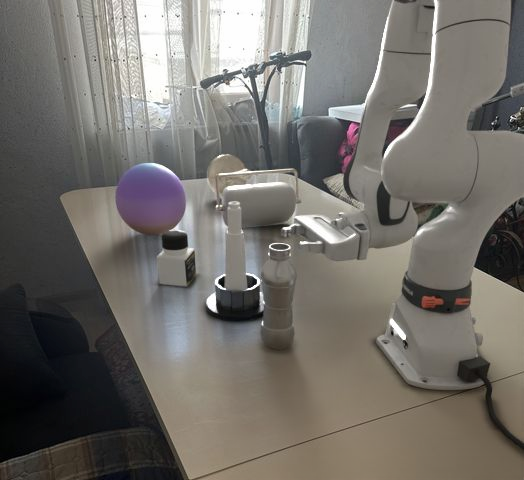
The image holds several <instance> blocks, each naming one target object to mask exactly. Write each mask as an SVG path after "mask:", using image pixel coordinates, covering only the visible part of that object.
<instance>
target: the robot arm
mask: <svg viewBox="0 0 524 480" xmlns="http://www.w3.org/2000/svg"><path fill="white" fill-rule="evenodd" d="M511 14H512V0H391V3H390V8H389V11H388V15H387V18H386V22H385V26H384V31H383V36H382V41H381V47H380V53H379V59H378V64H377V67H376V68H377V69H376V72H375V75H374V79H373V81H372V84H371V86H369V87H370V88H369V89H368V92H367V95H366V98H365V102H364V107H363V110H362V114H361V118H360V123H359V127H358V132H357V136H356V140H355V145H354V148H353V152H352V154H351V157H350V159H349V161H348V163H347V166H346V168H345V170H344V174H343V178H342V186H343V189H344V192H345V194H346V195H347V196H348V197H349V198H350V199H352V200H355V201H357V202H360V203H362V204H363V208H362V209H361V210H355V211H347V212H346V211H345V212H339V213H337V214H336V216H335V218H334V219H332V218H330V217H329V216H327V215H325V214H320V213H319V214H317V213H315V214H314V213H313V214H299V215H296V216H295V217H294V218H293V223H292V224H291V225H288V226H285V227H282V228H281V236H283V237H284V238H291V237H292V236H293V235H296V236H297V235H299V236H300V238H302V239H303V240H304V241H300V242H298V248H297V249H298V250H299V252H301V253H314V254H322V255H323V256H324V257H325V258H326V259H328V260H329V261H332V262H333V261H334V262H346V261H355V260H358V261H364V260H367V258H368V253H369V250H370V249H376V250H379V249H386V248H391V247H395V246H400V245H402V244H405V243H407V242H408V241H410V240H411V239H412V244H411V248H410V254H409V261H408V265H407V270H405V273H404V276H403V279H402V282H401V295H400V296H399V297H398V298H397V299H396V300H395V301H394V302H393V303H392V304H391V306H390V311H389V315H388V319H387V324H386V328H385V332H384V333H383V334H381V335H379V336H378V337H377V338H376V341H375V342H376V345H377V346H378V348H379V349H380V350H381V351H382V353H383V354H384V355H385V357H386V358H387V359H388V360H389V362H390V363H391V365H392V366H393V368H394V369H395V370H396V371H397V373H398V374H399V375H400V376H401V378H402V379H403V380H404V381H405V382H406V383H407V384H408V385H410V386H413V387H417V388H421V389H427V390H437V391H462V390H471V389H476V388H479V387H481V386H483V385H484V386H485V396H484V397H485V404H486V408H487V412H488V416H489V418H490V420H491V422H492V423H493V424H494V426H495V427H496V428H497V429H498V430H499V431H500V432H501V433H502V434H503V436H504V437H505V438H506V439H507V440H509V441H510V442H511V443H512V444H514V445H515V446H516V447H518V448H519V449H521V450H523V451H524V442H523V441H521V440H520V439H519V438H518V437H516V436H515V435H514V434H513V433H512V432H510V430H508V428H507V427H506V426H505V424H503V423H502V422H501V421H500V420H499V418H498V416H497V415H496V412H495V410H494V406H493V405H494V404H493V399H492V395H493V385H492V383H491V381H490V379H489V378H488V377H487V376H488V373H489V370H490V367H491V362H490V361H488V360H487V359H486V358H484V357H482V356H481V355H479V354H478V347H480V346H482V344H483V341H484V340H483V339H484V335H483V333H481V332H475V327H474V326H476V322H477V321H476V320H477V319H476V317H473V316H472V313H471V303H472V302H471V301H472V295H473V288H472V286H473V281H472V275H473V272H474V268H475V265H476V261H477V257H478V255H479V251H480V248H481V246H482V244H483V241H484V239H485V237H486V235H487V233H488V232H489V231H490V229H491V228H492V226H493V225H494V224H495V222H496V221H497V220H498V219H499V217H501V215H502V214H503V213H504V212H505V211H506V210H507V209H508V208H509V207H510V206H512V205H513V204H514V203H516V202H517V201H519V200H520V199H521V198H524V133H520V132H515V131H511V130H506V129H505V130H468V129H467V127H468V120H469V116H470V114H471V112H472V110H473V109H475V108H477V107H479V106H481V105H483V104H484V103H486V102H487V101H489V100H491V99H492V98H493V97H494V96H496V95H497V93H499V91H500V90H501V88H502V86H503V85H504V83H505V81H506V77H507V68H508V67H507V65H508V54H509V53H508V52H509V44H510V43H509V42H510V31H511V19H512V18H511V16H512V15H511ZM424 95H425V97H424V99H423V102H422V104H421V106H420V109H419V111H418V113H417V115H416V116H415V117H414V119H413V120H412V122H411V123H410V124H409V126H407V128H406V129H405V130H403V132H402V133H400V134H399V135H398V136H397V137H396V138H394V139H393V140H392V141H391V143H390V144H389V145H388V146H387V148H386V150H385V152H384V154H383V150H384V147H385V142H386V139H387V134H388V131H389V127H390V123H391V120H392V118H393V116H394V115H395V113H396V112H397V111H398V110H399V109H401V108H403V107H405V106H407V105H410V104H412V103H414V102H416V101H418V100H419V99H421V98H422V97H423V96H424ZM413 203H415V204H445V203H446V204H447V203H448V204H447V206H446V207H445V209H444V210H443V211H442V212H441V213H439V215H437V216H436V217H434V218H433V219H430V220H429V221H427V222H425V223H424V224H422V225H421V226H420V227H419V218H418V214H417V212H416V210H415V209H414V207H413ZM418 227H419V228H418Z"/></svg>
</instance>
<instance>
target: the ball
mask: <svg viewBox="0 0 524 480" xmlns="http://www.w3.org/2000/svg"><path fill="white" fill-rule="evenodd" d="M114 199H115V206H116V210H117V212H118V214H119V216H120V218H121V220H123V222H124V223H125V224H126V225H127V226H128V227H129V228H130V229H132V230H133V231H135V232H136V233H139V234H141V235H145V236H153V237H154V236H161V235H162V234H163V233H164V232H166V231H169V230H174V229H175V228H176V227H177V226H178V225H179V223H180V222H181V221H182V220H183V218H184V215H185V213H186V208H187V197H186V192H185V188H184V185H183V183H182V181H181V180H180V178H179V177H178V176H177V174H175V173H174V172H173V171H172V170H170V169H169V168H167V167H165V166H164V165H162V164H159V163H154V162H153V163H152V162H144V163H139V164H137V165H134V166H132V167H130V168H129V169H128V170H126V171H125V172H124V173H123V174H122V176H121V177H120V178H119V180H118V183H117V186H116V190H115V197H114Z"/></svg>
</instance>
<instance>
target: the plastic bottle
mask: <svg viewBox="0 0 524 480" xmlns="http://www.w3.org/2000/svg"><path fill="white" fill-rule="evenodd" d="M267 255H268V258H269V259H268V260H267V261H266V262H265V264H264V265H263V267H262V268H261V271H260V283H261V288H262V293H263V300H264V311H263V316H262V321H261V323H260V330H259V331H260V332H259V334H260V338H261V341H262V343H263V344H264V346H266V347H268V348H271V349H274V350H275V349H276V350H277V349H278V350H281V349H285V348H288V347H289V346H291V344H292V343H293V342H294V340H295V334H296V333H295V325H294V317H293V304H294V303H293V302H294V293H295V290H296V289H295V288H296V283H297V276H298V275H297V270H296V268H295V267H294V265H293V263H292V262H291V261H290V258H291V246H290V245H289V244H287V243H282V242H276V243H275V242H274V243H271V244H270V245H269V248H268V254H267Z"/></svg>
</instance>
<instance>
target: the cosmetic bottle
mask: <svg viewBox="0 0 524 480" xmlns="http://www.w3.org/2000/svg"><path fill="white" fill-rule="evenodd" d="M239 206H240V203H239V202H229V207H228V209H227V217H228V227H227V230H226V231H225V250H224V251H225V252H224V257H225V258H224V274H225V285H224V288H225V289H229V290H245V289H248V287H247V277H246V273H247V263H246V246H245V234H244V233H245V232H244V230H242V228H241V208H240V207H239Z"/></svg>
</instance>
